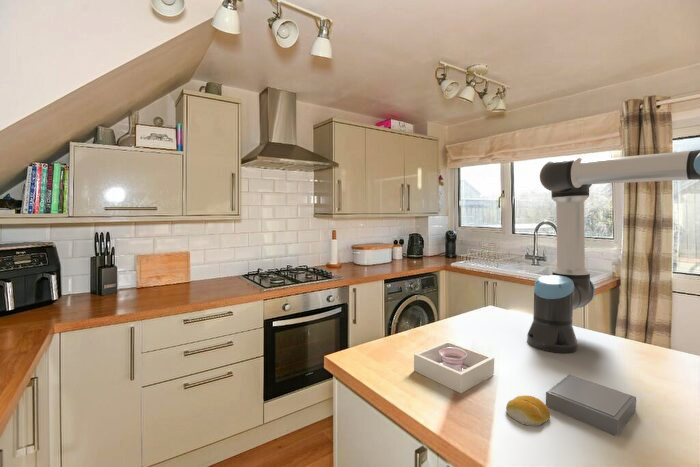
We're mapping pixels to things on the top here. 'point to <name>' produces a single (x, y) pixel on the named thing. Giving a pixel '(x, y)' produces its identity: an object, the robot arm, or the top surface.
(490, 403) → the top surface
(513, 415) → the bread roll
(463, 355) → the teacup
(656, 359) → the top surface
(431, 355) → the white open box
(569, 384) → the grey square block
